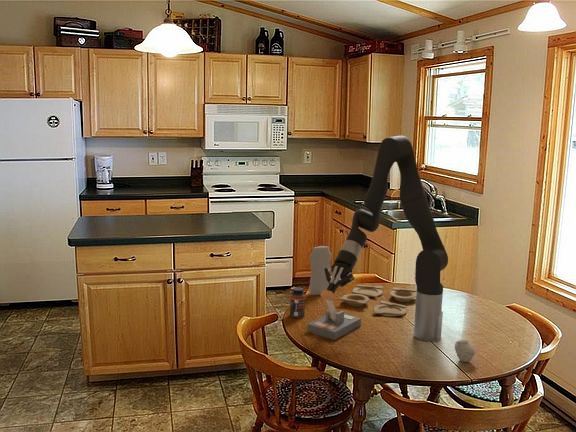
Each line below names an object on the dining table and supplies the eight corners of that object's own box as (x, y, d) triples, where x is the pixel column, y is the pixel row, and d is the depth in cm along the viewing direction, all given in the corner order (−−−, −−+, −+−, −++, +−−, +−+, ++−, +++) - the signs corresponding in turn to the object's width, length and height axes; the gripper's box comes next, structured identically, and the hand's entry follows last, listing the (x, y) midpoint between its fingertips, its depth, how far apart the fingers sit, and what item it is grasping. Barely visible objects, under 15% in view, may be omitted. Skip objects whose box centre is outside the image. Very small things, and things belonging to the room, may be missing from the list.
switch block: (360, 325, 212) (361, 308, 210) (334, 340, 198) (335, 321, 196) (334, 318, 219) (335, 301, 218) (307, 331, 205) (307, 313, 204)
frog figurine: (462, 355, 188) (464, 335, 186) (478, 363, 182) (480, 343, 180) (449, 358, 185) (450, 338, 183) (465, 367, 179) (466, 346, 177)
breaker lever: (341, 318, 208) (332, 291, 200) (338, 323, 206) (329, 296, 199) (332, 315, 210) (323, 289, 203) (329, 320, 209) (320, 293, 201)
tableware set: (359, 286, 262) (359, 278, 261) (421, 296, 249) (422, 287, 248) (331, 309, 231) (332, 299, 230) (401, 321, 218) (402, 311, 217)
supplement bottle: (298, 319, 216) (299, 292, 214) (286, 316, 220) (287, 288, 218) (307, 315, 221) (308, 288, 219) (295, 312, 225) (296, 285, 223)
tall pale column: (328, 291, 252) (329, 244, 248) (332, 293, 249) (333, 246, 245) (306, 293, 248) (308, 245, 244) (310, 296, 245) (312, 247, 241)
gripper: (330, 246, 211) (310, 284, 204) (360, 252, 203) (340, 292, 196) (337, 257, 216) (318, 295, 209) (367, 263, 208) (348, 303, 201)
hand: (329, 293), depth 202 cm, fingers closed
